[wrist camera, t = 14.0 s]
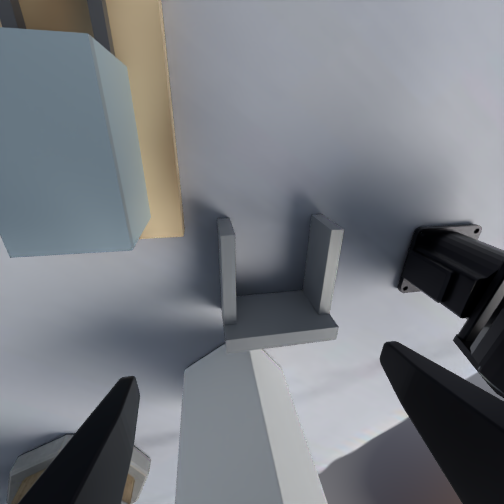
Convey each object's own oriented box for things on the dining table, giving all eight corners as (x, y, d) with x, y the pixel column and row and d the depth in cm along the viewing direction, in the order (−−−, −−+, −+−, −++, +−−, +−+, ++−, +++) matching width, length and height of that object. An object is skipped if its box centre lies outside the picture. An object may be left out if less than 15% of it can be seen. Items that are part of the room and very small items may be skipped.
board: (151, -95, 12) (145, -123, 11) (184, 229, 19) (183, 236, 17) (-80, -130, 11) (-121, -168, 9) (47, 235, 17) (34, 244, 16)
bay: (217, 218, 19) (222, 245, 14) (322, 214, 20) (356, 237, 16) (221, 309, 22) (226, 353, 18) (310, 300, 24) (336, 339, 19)
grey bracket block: (-47, -141, 10) (-329, -448, 5) (97, -118, 11) (-3, -356, 5) (65, 220, 16) (-2, 265, 11) (151, 217, 17) (128, 256, 11)
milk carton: (183, 368, 25) (145, 893, 8) (244, 329, 24) (350, 813, 7) (227, 402, 28) (267, 827, 11) (282, 368, 27) (418, 767, 10)
